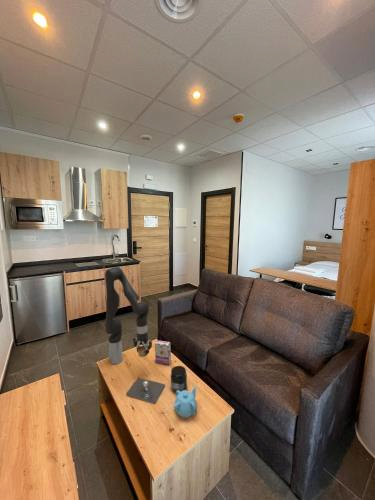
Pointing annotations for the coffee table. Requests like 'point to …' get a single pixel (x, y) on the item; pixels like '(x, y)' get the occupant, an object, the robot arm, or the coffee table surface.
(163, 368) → the coffee table surface
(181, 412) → the teapot
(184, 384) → the supplement container
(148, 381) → the grey metal plate
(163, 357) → the candy bar box
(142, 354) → the collar
